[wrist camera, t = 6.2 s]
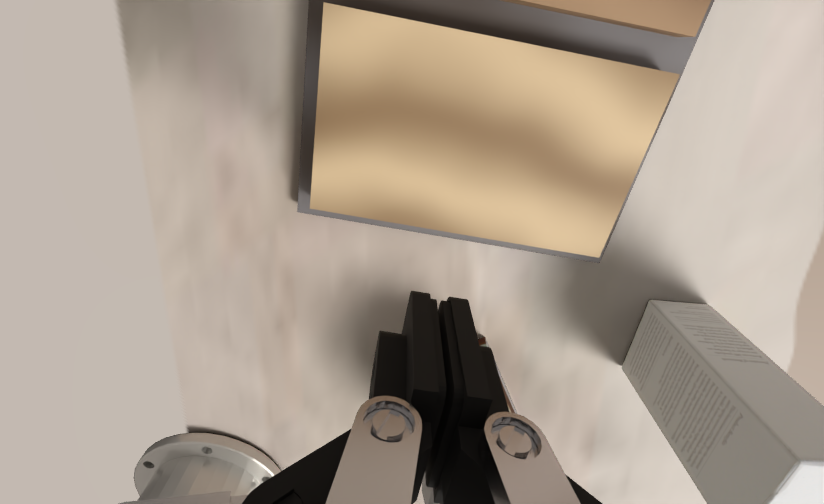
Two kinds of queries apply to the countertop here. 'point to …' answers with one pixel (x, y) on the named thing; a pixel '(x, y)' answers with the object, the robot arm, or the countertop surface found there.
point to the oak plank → (477, 131)
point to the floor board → (533, 24)
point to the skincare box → (727, 408)
